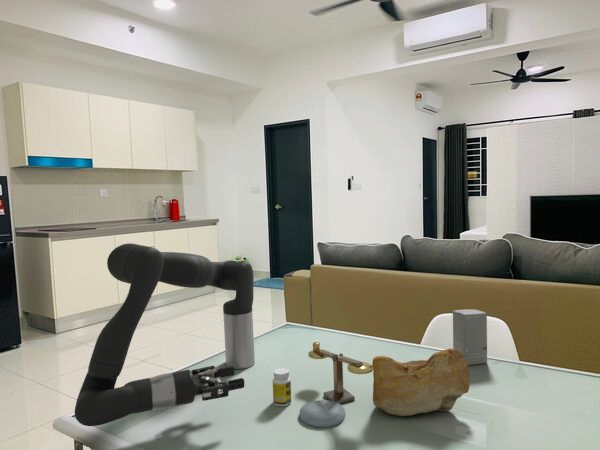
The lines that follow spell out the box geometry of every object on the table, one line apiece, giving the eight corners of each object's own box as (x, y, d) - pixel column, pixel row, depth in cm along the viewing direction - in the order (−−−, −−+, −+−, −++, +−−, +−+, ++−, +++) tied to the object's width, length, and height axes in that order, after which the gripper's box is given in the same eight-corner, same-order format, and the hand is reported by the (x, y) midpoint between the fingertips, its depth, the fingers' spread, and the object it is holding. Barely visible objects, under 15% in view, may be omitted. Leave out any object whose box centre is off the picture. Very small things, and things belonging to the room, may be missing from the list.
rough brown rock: (457, 392, 118) (453, 336, 119) (476, 418, 102) (471, 354, 102) (370, 395, 120) (366, 340, 121) (374, 421, 104) (370, 357, 104)
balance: (305, 380, 127) (304, 335, 126) (324, 376, 130) (322, 332, 129) (357, 425, 102) (355, 369, 101) (379, 419, 104) (377, 364, 103)
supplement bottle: (289, 407, 112) (288, 375, 111) (271, 406, 113) (269, 374, 112) (293, 398, 116) (292, 367, 116) (276, 397, 117) (274, 367, 117)
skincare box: (464, 366, 133) (464, 315, 132) (451, 358, 140) (450, 309, 139) (489, 363, 135) (488, 312, 134) (474, 355, 142) (474, 307, 141)
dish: (292, 411, 110) (292, 405, 110) (331, 401, 114) (331, 396, 114) (312, 432, 100) (311, 426, 100) (353, 420, 104) (353, 414, 104)
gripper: (175, 385, 96) (247, 371, 102) (166, 363, 109) (230, 352, 115) (177, 418, 96) (248, 402, 103) (167, 393, 109) (231, 380, 116)
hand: (238, 376), depth 109 cm, fingers open, 8 cm apart
